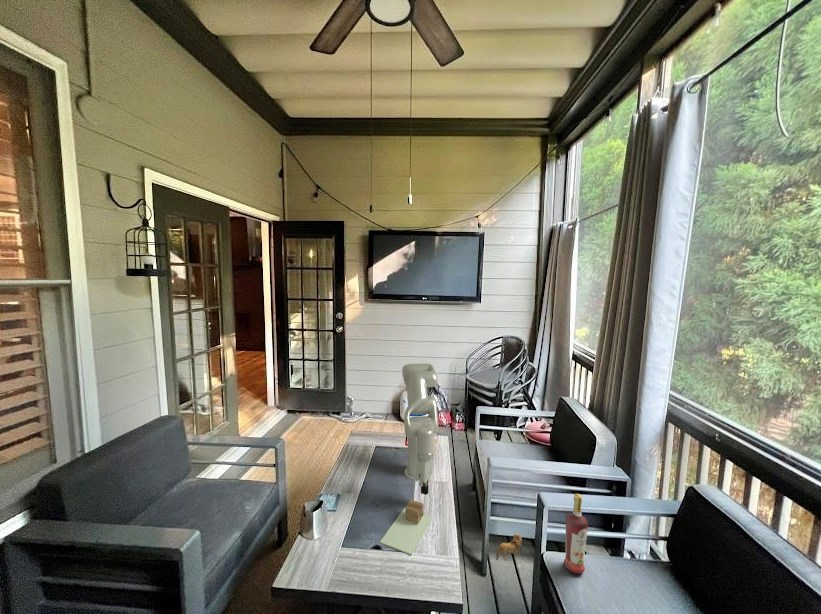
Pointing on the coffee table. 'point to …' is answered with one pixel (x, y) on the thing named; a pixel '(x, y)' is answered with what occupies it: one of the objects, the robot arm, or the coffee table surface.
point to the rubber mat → (406, 533)
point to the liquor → (575, 537)
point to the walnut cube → (414, 512)
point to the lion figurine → (510, 546)
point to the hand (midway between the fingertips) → (424, 493)
